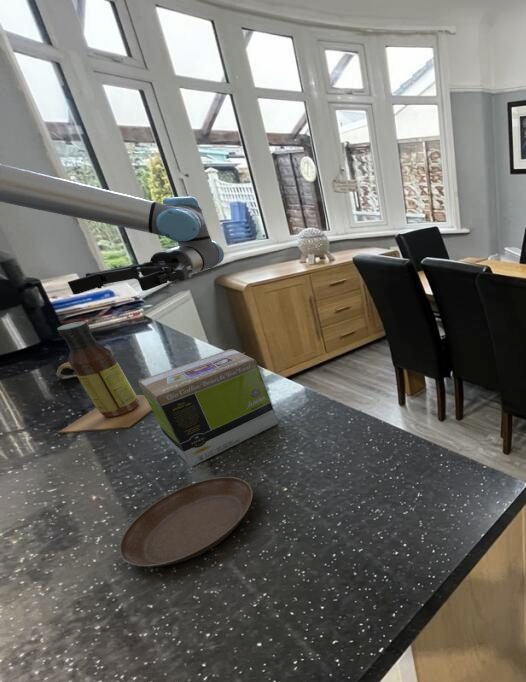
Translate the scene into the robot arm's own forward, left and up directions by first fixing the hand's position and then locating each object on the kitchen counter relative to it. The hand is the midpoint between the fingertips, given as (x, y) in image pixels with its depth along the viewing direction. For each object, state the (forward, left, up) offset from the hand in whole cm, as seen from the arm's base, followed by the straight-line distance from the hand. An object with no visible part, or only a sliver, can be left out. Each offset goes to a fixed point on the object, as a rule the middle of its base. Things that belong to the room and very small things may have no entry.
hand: (106, 286), depth 82 cm
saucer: (+36, -44, -25) cm, 62 cm away
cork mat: (0, -10, -25) cm, 27 cm away
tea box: (+28, -22, -25) cm, 43 cm away
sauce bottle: (0, -10, -25) cm, 27 cm away
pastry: (-26, +12, -25) cm, 38 cm away
